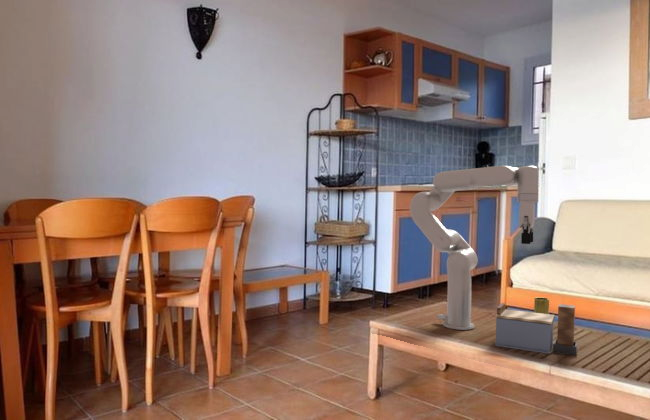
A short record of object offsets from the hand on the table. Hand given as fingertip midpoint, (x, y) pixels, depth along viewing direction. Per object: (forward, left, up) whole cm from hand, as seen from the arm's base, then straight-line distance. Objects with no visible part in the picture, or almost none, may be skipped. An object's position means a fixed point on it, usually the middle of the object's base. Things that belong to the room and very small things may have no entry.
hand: (527, 242), depth 200 cm
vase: (+5, +6, -37) cm, 37 cm away
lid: (+2, -14, -26) cm, 29 cm away
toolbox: (+2, -14, -36) cm, 39 cm away
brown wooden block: (+15, -14, -36) cm, 42 cm away
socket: (+15, -14, -36) cm, 42 cm away
